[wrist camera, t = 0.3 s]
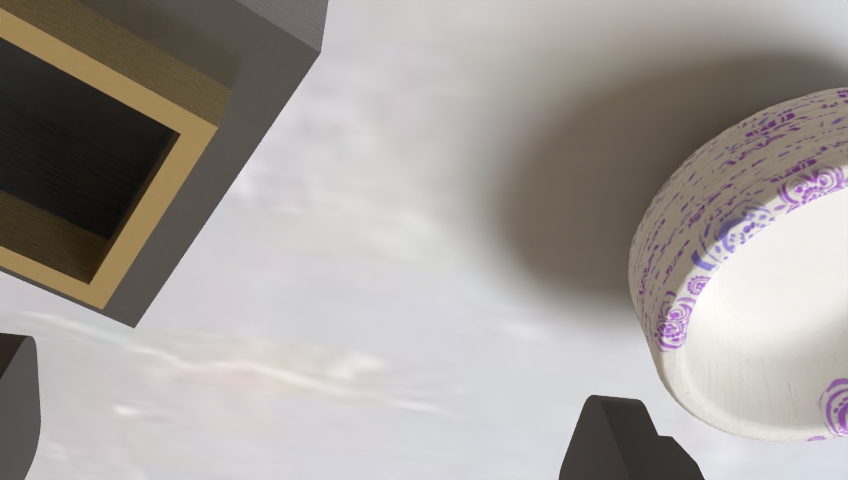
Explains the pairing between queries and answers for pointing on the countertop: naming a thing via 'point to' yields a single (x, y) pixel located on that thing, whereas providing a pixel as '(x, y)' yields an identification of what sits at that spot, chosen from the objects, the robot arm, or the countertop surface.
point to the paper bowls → (754, 274)
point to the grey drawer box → (133, 131)
